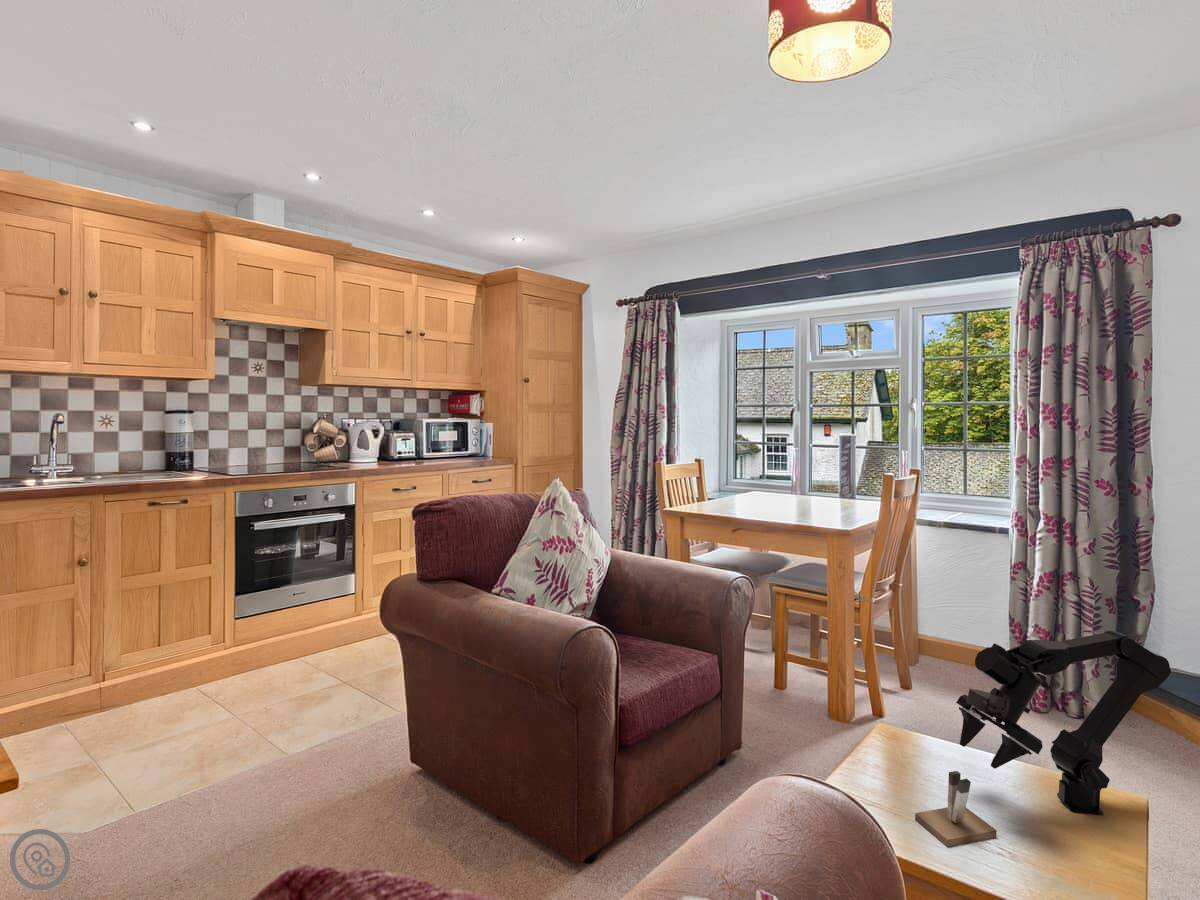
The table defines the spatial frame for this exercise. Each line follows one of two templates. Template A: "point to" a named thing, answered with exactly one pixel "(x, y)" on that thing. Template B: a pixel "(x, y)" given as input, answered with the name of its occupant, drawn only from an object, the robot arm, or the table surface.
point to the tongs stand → (950, 831)
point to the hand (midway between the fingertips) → (976, 756)
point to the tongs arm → (961, 800)
